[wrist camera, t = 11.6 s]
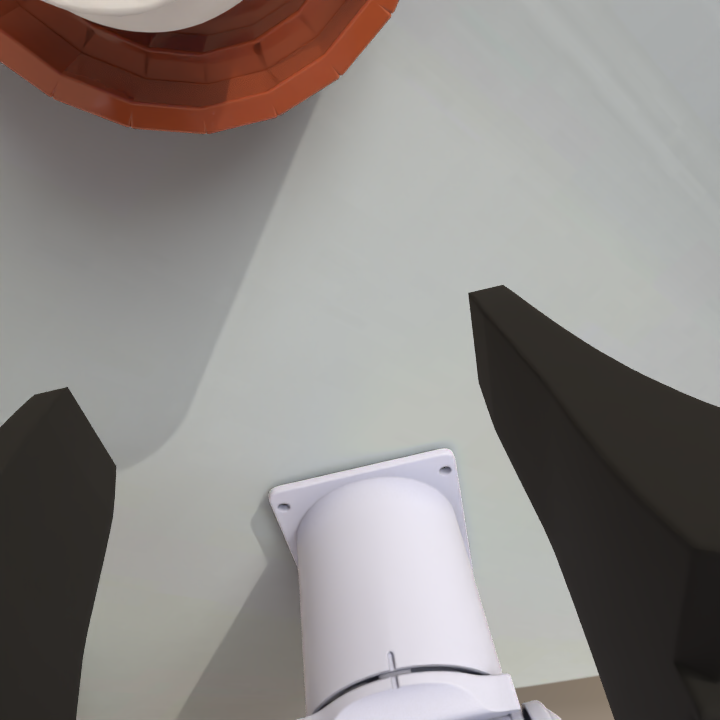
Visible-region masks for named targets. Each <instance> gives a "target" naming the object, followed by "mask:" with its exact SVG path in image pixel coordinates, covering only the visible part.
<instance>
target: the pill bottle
mask: <svg viewBox="0 0 720 720" xmlns="http://www.w3.org/2000/svg"><path fill="white" fill-rule="evenodd" d="M41 1H43V2H46V3H49V4H51V5H54V6H56V7H59V8H62V9H65V10H68V11H70V12H72V13H74V14H76V15H78V16H80V17H82V18H85V19H87V20H90V21H92V22H95V23H98V24H101V25H104V26H108V27H112V28H116V29H121V30H128V31H135V32H168V31H175V30H181V29H185V28H189V27H192V26H195V25H198V24H202V23H204V22H206V21H208V20H210V19H213V18H215V17H217V16H219V15H220V14H222V13H224V12H226V11H228V10H229V9H231V8H232V7H234V6H235V5H237V4H238V3H240V2H241V1H243V0H41Z"/></svg>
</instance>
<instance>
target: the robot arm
mask: <svg viewBox="0 0 720 720" xmlns="http://www.w3.org/2000/svg"><path fill="white" fill-rule="evenodd" d="M468 294H469V303H470V311H471V320H472V328H473V337H474V346H475V354H476V363H477V371H478V380H479V385H480V388H481V390H482V393H483V396H484V399H485V402H486V405H487V408H488V411H489V414H490V417H491V420H492V422H493V425H494V428H495V430H496V432H497V435H498V437H499V439H500V441H501V443H502V445H503V447H504V449H505V451H506V453H507V455H508V457H509V459H510V461H511V463H512V465H513V467H514V469H515V471H516V473H517V475H518V477H519V479H520V481H521V483H522V485H523V487H524V489H525V491H526V493H527V495H528V497H529V499H530V501H531V503H532V505H533V507H534V509H535V511H536V513H537V515H538V517H539V519H540V521H541V523H542V525H543V527H544V529H545V532H546V534H547V536H548V539H549V541H550V543H551V545H552V548H553V550H554V552H555V555H556V557H557V560H558V563H559V565H560V568H561V571H562V573H563V576H564V579H565V581H566V584H567V587H568V589H569V592H570V595H571V597H572V600H573V603H574V606H575V608H576V611H577V614H578V617H579V619H580V622H581V625H582V628H583V631H584V633H585V636H586V639H587V642H588V644H589V647H590V650H591V653H592V656H593V658H594V661H595V664H596V667H597V670H598V673H599V676H600V679H601V682H602V684H603V687H604V690H605V693H606V696H607V699H608V702H609V705H610V708H611V711H612V713H613V716H614V719H615V720H720V407H717V406H714V405H712V404H709V403H706V402H704V401H701V400H699V399H696V398H694V397H691V396H689V395H686V394H684V393H682V392H679V391H677V390H675V389H673V388H671V387H669V386H666V385H664V384H662V383H660V382H658V381H655V380H653V379H651V378H649V377H647V376H645V375H643V374H641V373H639V372H637V371H635V370H633V369H631V368H629V367H627V366H625V365H623V364H622V363H620V362H618V361H616V360H615V359H613V358H611V357H609V356H607V355H606V354H604V353H602V352H600V351H599V350H597V349H595V348H594V347H592V346H590V345H589V344H587V343H586V342H584V341H583V340H581V339H580V338H578V337H576V336H575V335H573V334H572V333H570V332H569V331H567V330H566V329H564V328H563V327H561V326H560V325H558V324H557V323H555V322H554V321H552V320H551V319H550V318H548V317H547V316H545V315H544V314H543V313H541V312H540V311H538V310H537V309H536V308H534V307H533V306H532V305H530V304H529V303H527V302H526V301H525V300H523V299H522V298H521V297H519V296H518V295H517V294H515V293H514V292H512V291H511V290H510V289H508V288H507V287H505V286H504V285H500V286H496V287H492V288H488V289H483V290H479V291H475V292H471V293H468ZM446 466H448V467H446ZM442 467H446V468H442ZM441 468H442V469H441ZM115 483H116V465H115V464H114V462H113V460H112V459H111V457H110V455H109V454H108V452H107V450H106V449H105V447H104V446H103V444H102V442H101V441H100V439H99V437H98V436H97V434H96V433H95V431H94V429H93V428H92V426H91V424H90V423H89V421H88V419H87V418H86V416H85V415H84V413H83V411H82V410H81V408H80V406H79V405H78V403H77V402H76V400H75V398H74V397H73V395H72V393H71V392H70V390H69V389H68V387H66V388H62V389H57V390H53V391H49V392H45V393H40V394H36V395H34V396H33V397H31V398H30V399H29V400H28V401H27V402H26V403H25V404H23V405H22V406H21V407H20V408H19V409H18V410H17V411H16V412H15V413H14V414H13V415H12V416H11V417H10V418H9V419H8V420H7V421H6V422H5V423H4V424H3V425H2V426H1V427H0V720H76V713H77V704H78V696H79V687H80V678H81V669H82V660H83V654H84V648H85V643H86V637H87V632H88V627H89V623H90V618H91V614H92V610H93V605H94V601H95V596H96V592H97V588H98V583H99V579H100V574H101V570H102V566H103V561H104V557H105V552H106V548H107V543H108V538H109V534H110V529H111V524H112V519H113V510H114V499H115ZM269 503H270V505H271V507H272V510H273V512H274V514H275V517H276V519H277V521H278V524H279V526H280V528H281V531H282V533H283V535H284V538H285V540H286V542H287V545H288V547H289V549H290V552H291V554H292V556H293V559H294V561H295V563H296V566H297V568H298V572H299V591H300V610H301V629H302V647H303V666H304V685H305V704H306V717H303V718H299V719H296V720H561V718H560V717H559V716H557V715H556V714H555V713H553V712H552V711H550V710H549V709H547V708H545V706H544V705H543V703H541V702H540V701H538V700H533V701H529V702H526V703H523V704H522V712H521V707H520V704H519V701H518V698H517V695H516V691H515V688H514V685H513V681H512V678H511V675H510V674H509V673H502V669H501V666H500V663H499V659H498V656H497V652H496V649H495V646H494V642H493V639H492V636H491V632H490V629H489V626H488V622H487V619H486V616H485V612H484V609H483V606H482V602H481V599H480V596H479V592H478V589H477V586H476V582H475V579H474V573H473V567H472V560H471V554H470V548H469V542H468V535H467V529H466V523H465V517H464V510H463V504H462V498H461V491H460V485H459V479H458V473H457V466H456V460H455V457H454V454H453V452H452V451H451V450H450V449H446V448H442V449H437V450H432V451H428V452H424V453H419V454H415V455H411V456H406V457H402V458H398V459H393V460H389V461H384V462H380V463H376V464H371V465H367V466H363V467H358V468H354V469H350V470H345V471H341V472H336V473H332V474H328V475H323V476H319V477H315V478H310V479H306V480H302V481H297V482H293V483H288V484H284V485H280V486H276V487H274V488H272V489H271V490H270V492H269ZM281 504H286V505H281Z"/></svg>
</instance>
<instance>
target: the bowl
mask: <svg viewBox="0 0 720 720" xmlns="http://www.w3.org/2000/svg"><path fill="white" fill-rule="evenodd" d="M398 2H399V0H243V1H241V2H240V3H238V4H237V5H235V6H234V7H232V8H231V9H229V10H228V11H226V12H224V13H222V14H220V15H219V16H217V17H215V18H213V19H210V20H208V21H206V22H204V23H202V24H198V25H195V26H192V27H189V28H185V29H181V30H175V31H168V32H135V31H128V30H121V29H116V28H112V27H108V26H104V25H101V24H98V23H95V22H92V21H90V20H87V19H85V18H82V17H80V16H78V15H76V14H74V13H72V12H70V11H68V10H65V9H62V8H59V7H56V6H54V5H51V4H49V3H46V2H43V1H41V0H0V62H1V63H3V64H4V65H6V66H7V67H8V68H10V69H11V70H13V71H14V72H15V73H17V74H18V75H20V76H21V77H22V78H24V79H25V80H27V81H28V82H29V83H31V84H32V85H34V86H35V87H36V88H38V89H39V90H41V91H42V92H43V93H45V94H46V95H48V96H49V97H53V99H55V100H57V101H60V102H62V103H65V104H67V105H70V106H73V107H75V108H78V109H81V110H83V111H86V112H88V113H91V114H94V115H96V116H99V117H102V118H104V119H107V120H109V121H112V122H115V123H117V124H120V125H123V126H125V127H132V128H133V129H143V130H156V131H169V132H182V133H195V134H206V133H207V134H212V133H216V132H220V131H224V130H228V129H232V128H236V127H240V126H245V125H249V124H253V123H257V122H261V121H265V120H269V119H273V118H276V117H277V115H278V116H280V115H282V114H284V113H285V112H287V111H289V110H290V109H292V108H293V107H295V106H296V105H298V104H300V103H301V102H303V101H304V100H306V99H307V98H309V97H311V96H312V95H314V94H315V93H317V92H319V91H320V90H322V89H323V88H325V87H326V86H328V85H330V84H331V83H333V82H334V81H336V80H338V79H339V77H340V76H342V75H343V74H344V73H345V72H346V71H347V70H348V68H349V67H350V66H351V65H352V63H353V62H354V61H355V60H356V59H357V57H358V56H359V55H360V54H361V53H362V51H363V50H364V49H365V48H366V47H367V45H368V44H369V43H370V42H371V41H372V39H373V38H374V37H375V36H376V35H377V33H378V32H379V31H380V30H381V29H382V27H383V26H384V25H385V24H386V23H387V21H388V20H389V19H390V18H391V13H393V12H394V11H395V9H396V7H397V4H398ZM339 75H340V76H339Z"/></svg>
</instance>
